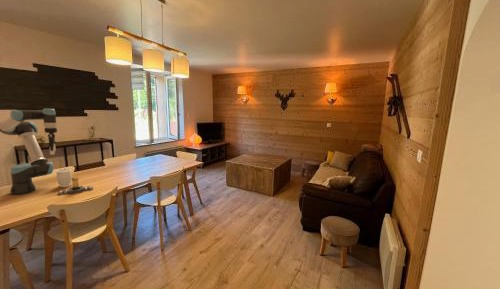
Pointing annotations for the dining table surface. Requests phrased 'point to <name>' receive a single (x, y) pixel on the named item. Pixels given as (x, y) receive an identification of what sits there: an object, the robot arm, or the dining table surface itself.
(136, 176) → the dining table surface
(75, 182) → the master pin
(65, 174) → the jar
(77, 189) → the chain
